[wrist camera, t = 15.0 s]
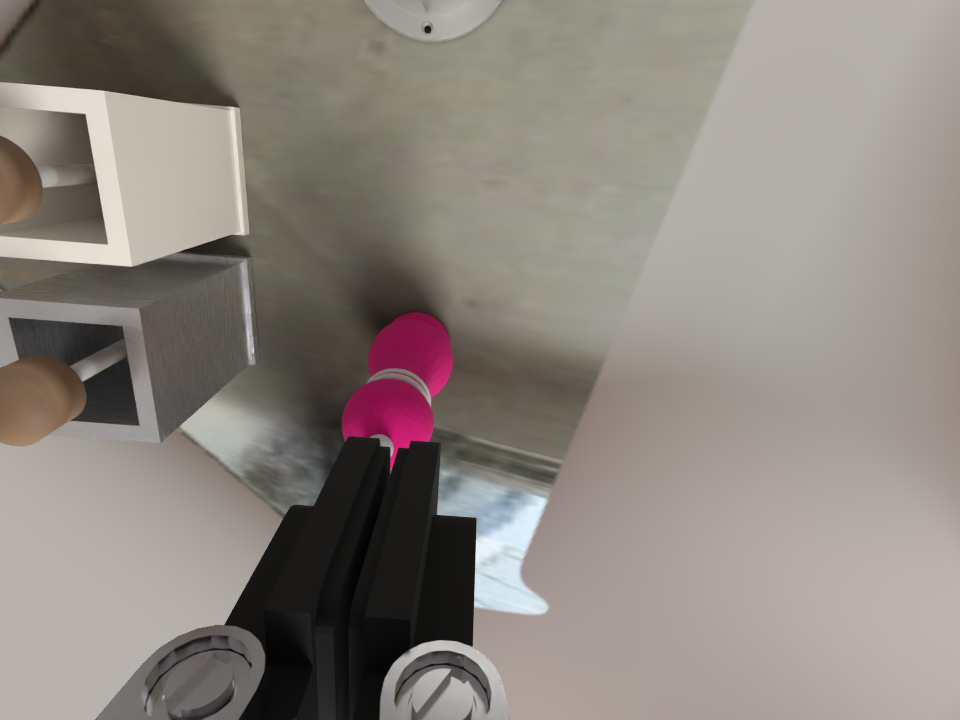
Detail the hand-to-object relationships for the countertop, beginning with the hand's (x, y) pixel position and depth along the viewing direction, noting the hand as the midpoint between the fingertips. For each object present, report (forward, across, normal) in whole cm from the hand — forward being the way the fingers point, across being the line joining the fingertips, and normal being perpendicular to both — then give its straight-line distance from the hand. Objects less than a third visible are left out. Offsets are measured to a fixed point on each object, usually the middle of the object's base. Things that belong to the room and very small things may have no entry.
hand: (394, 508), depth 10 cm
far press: (+39, +24, +9) cm, 47 cm away
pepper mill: (+39, +4, +11) cm, 41 cm away
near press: (+39, +24, -3) cm, 46 cm away
